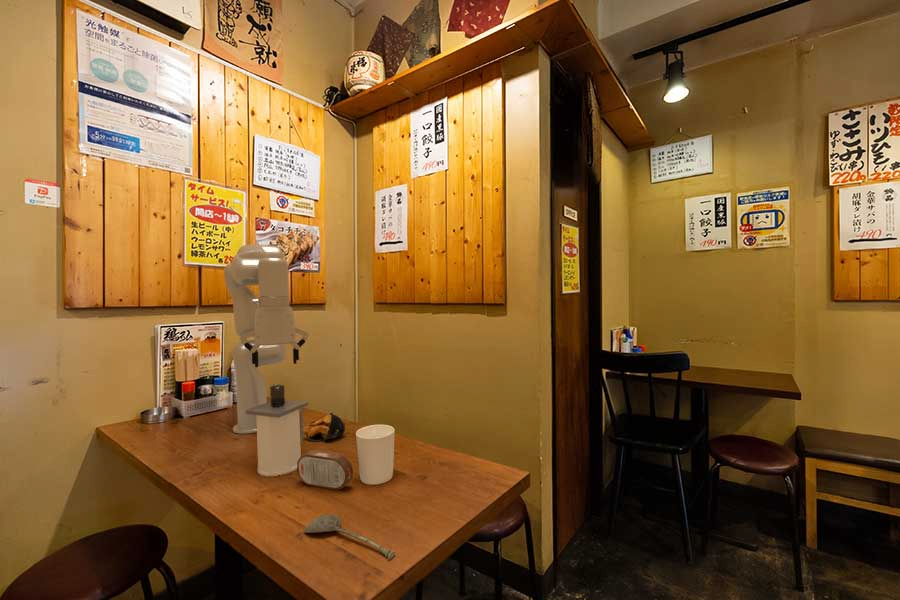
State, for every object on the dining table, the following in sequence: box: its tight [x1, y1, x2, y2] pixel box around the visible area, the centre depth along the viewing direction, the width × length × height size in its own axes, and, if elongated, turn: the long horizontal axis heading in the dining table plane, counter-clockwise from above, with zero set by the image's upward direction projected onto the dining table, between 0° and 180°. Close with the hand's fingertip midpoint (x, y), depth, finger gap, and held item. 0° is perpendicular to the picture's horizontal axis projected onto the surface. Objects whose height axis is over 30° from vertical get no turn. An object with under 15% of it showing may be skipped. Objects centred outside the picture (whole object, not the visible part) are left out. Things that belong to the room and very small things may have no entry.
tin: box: [296, 449, 354, 491], centre depth 96 cm, size 15×3×8 cm, turn 71°
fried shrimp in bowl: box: [303, 412, 346, 442], centre depth 126 cm, size 9×11×18 cm
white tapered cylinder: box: [355, 424, 396, 486], centre depth 100 cm, size 10×10×12 cm
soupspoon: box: [303, 513, 396, 561], centre depth 75 cm, size 22×3×7 cm
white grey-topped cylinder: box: [246, 399, 309, 477], centre depth 108 cm, size 14×11×17 cm
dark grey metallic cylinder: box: [269, 384, 286, 408], centre depth 107 cm, size 8×8×17 cm
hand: (276, 364), depth 107 cm, fingers open, 9 cm apart
